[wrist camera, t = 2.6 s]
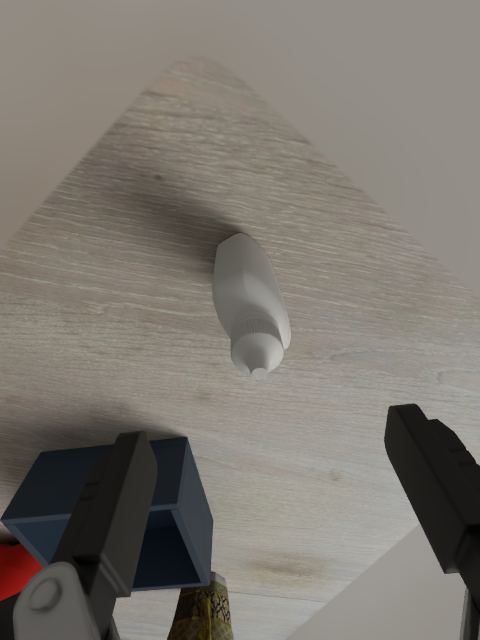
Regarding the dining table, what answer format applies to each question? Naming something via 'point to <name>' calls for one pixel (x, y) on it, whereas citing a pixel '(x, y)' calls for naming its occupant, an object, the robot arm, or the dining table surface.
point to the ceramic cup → (203, 613)
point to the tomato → (15, 569)
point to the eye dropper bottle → (250, 306)
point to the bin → (162, 525)
